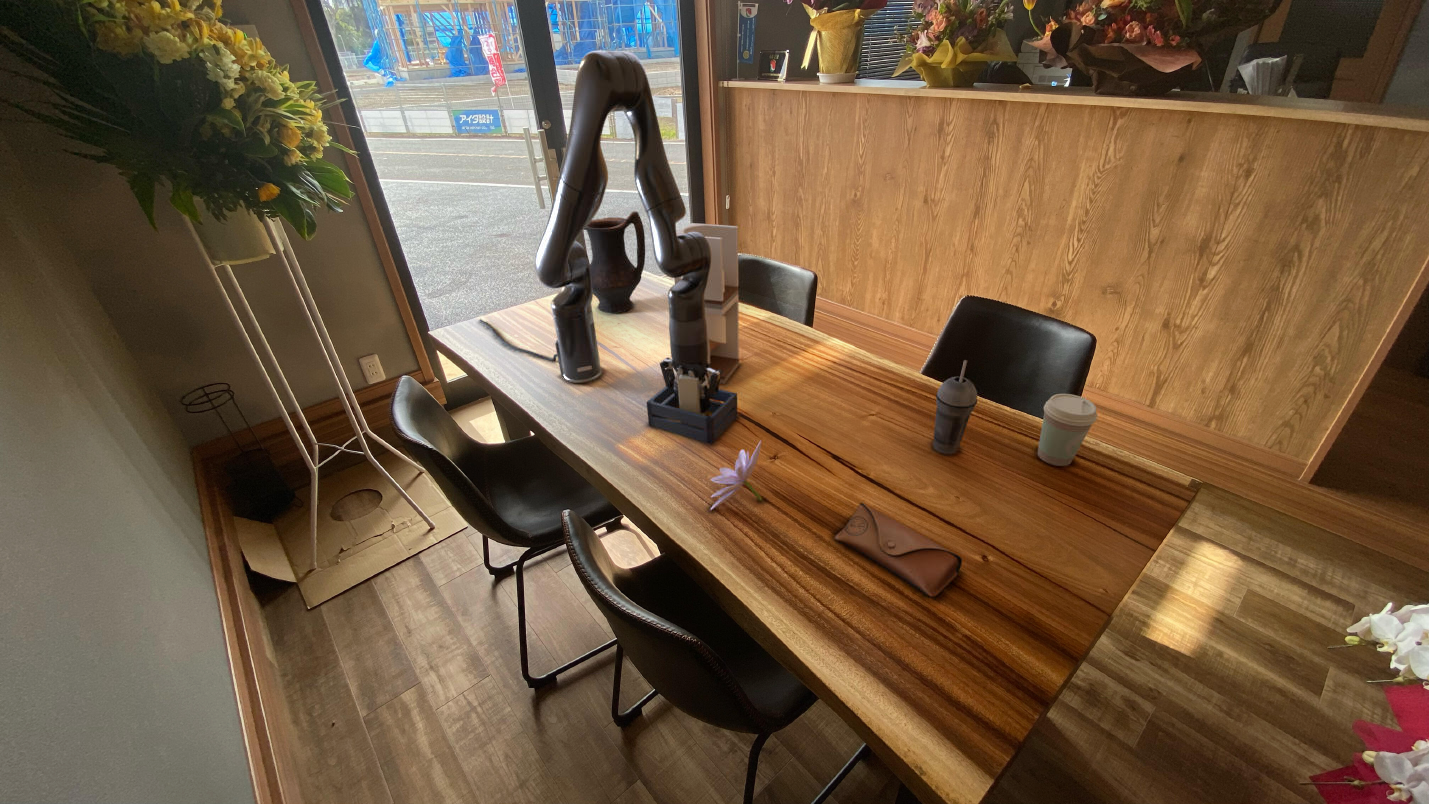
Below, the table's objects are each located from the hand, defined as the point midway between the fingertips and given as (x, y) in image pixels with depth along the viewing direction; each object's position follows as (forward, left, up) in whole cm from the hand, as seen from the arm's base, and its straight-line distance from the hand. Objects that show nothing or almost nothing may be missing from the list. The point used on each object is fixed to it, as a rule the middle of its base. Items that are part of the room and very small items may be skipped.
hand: (692, 407), depth 123 cm
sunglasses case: (+48, -19, -4) cm, 52 cm away
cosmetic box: (0, 0, -4) cm, 4 cm away
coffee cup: (+69, +20, -4) cm, 72 cm away
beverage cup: (+50, +14, -4) cm, 52 cm away
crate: (0, 0, -3) cm, 3 cm away
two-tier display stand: (-8, +22, -4) cm, 24 cm away
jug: (-55, +46, -4) cm, 72 cm away
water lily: (+19, -17, -4) cm, 26 cm away
